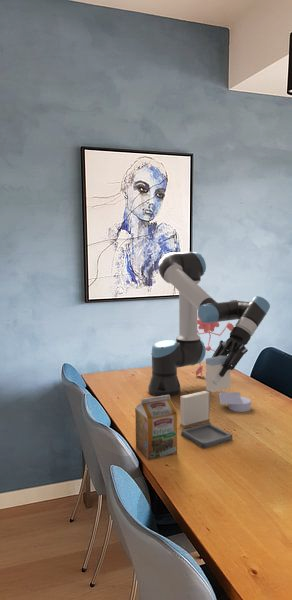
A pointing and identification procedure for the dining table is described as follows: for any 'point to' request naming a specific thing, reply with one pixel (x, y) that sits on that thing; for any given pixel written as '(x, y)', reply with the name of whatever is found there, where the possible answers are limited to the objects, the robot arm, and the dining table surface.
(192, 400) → the cream square slab
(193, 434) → the tray
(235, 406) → the wedge on round base
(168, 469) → the dining table surface
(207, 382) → the stub
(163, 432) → the milk carton
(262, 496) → the dining table surface
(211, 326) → the figurine
